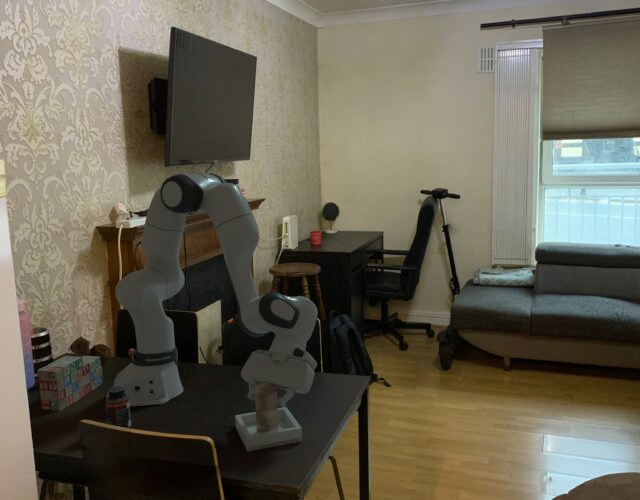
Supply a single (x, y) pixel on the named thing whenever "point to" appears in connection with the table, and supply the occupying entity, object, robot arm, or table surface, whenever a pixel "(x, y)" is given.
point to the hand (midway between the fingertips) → (265, 402)
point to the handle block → (266, 407)
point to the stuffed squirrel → (90, 350)
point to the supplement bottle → (118, 408)
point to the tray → (255, 440)
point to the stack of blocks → (68, 380)
